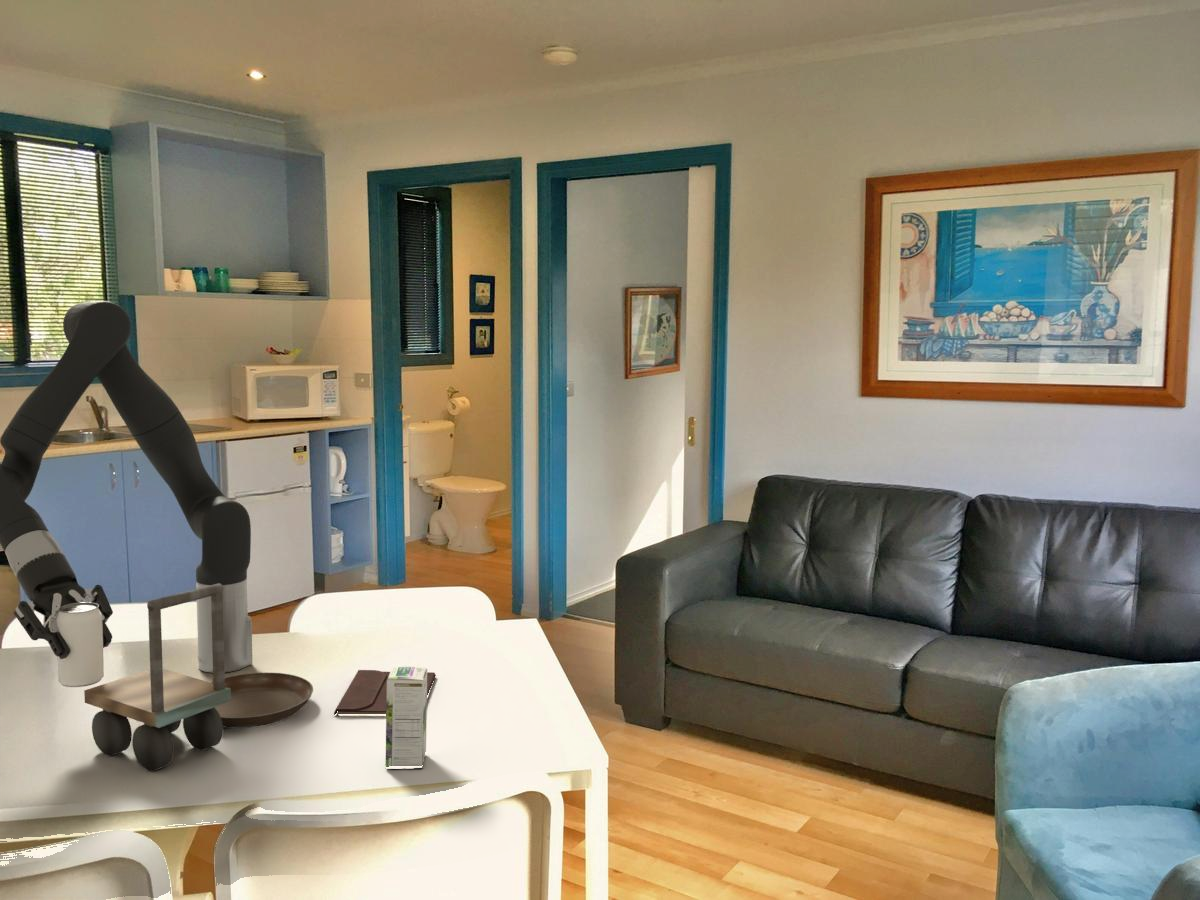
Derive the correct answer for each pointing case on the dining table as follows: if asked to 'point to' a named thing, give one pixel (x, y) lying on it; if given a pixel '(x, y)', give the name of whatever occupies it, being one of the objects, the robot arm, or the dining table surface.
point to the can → (81, 644)
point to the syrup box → (406, 716)
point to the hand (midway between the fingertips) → (87, 649)
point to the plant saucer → (263, 699)
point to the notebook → (369, 693)
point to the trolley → (163, 695)
